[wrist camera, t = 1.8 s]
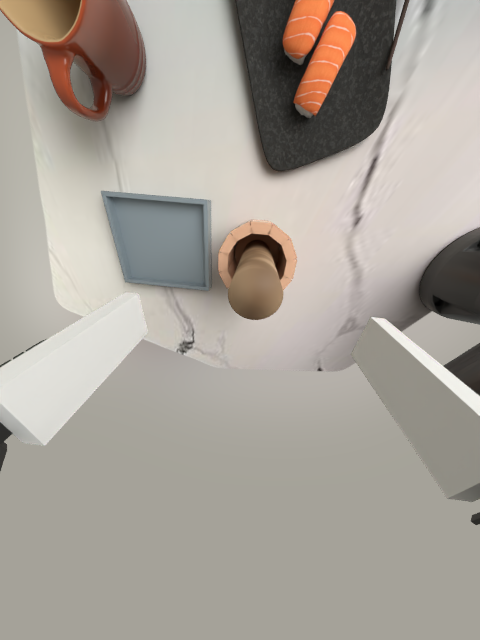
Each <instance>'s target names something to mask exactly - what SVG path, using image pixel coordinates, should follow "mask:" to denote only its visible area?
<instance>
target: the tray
mask: <svg viewBox="0 0 480 640" xmlns="http://www.w3.org/2000/svg"><path fill="white" fill-rule="evenodd" d="M101 194H102V197H103V201H104V205H105V209H106V212H107V216H108V220H109V223H110V227H111V231H112V234H113V238H114V242H115V246H116V249H117V253H118V257H119V260H120V264H121V268H122V272H123V275H124V279H125V282H130V283H139V284H149V285H159V286H168V287H178V288H187V289H197V290H207V291H209V290H210V288H211V287H212V264H211V201H210V200H204V199H192V198H180V197H168V196H156V195H145V194H133V193H121V192H109V191H101Z"/></svg>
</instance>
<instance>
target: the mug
mask: <svg viewBox="0 0 480 640" xmlns="http://www.w3.org/2000/svg"><path fill="white" fill-rule="evenodd" d="M0 10H1V12H2V13H3V14H4V15H5V16H6V18H7V19H8V20H9V21H10V22H11V23H12V24H13V25H14V26H15V27H16V28H17V29H18V30H19V31H20V32H21V33H22V34H23V35H25V36H26V37H28V38H29V39H31V40H33V41H35V42H36V43H38V44H39V45H40V47H41V49H42V52H43V55H44V59H45V61H46V64H47V67H48V70H49V73H50V77H51V80H52V83H53V86H54V88H55V90H56V93H57V94H58V96H59V98H60V99H61V101H62V102H63V104H64V105H65V106H66V107H67V108H68V109H69V110H70V111H72V112H73V113H75V114H76V115H78V116H80V117H82V118H85V119H88V120H91V121H101V120H103V119H105V118H106V116H107V114H108V112H109V108H110V104H111V100H112V92H113V93H115V94H118V95H121V96H130V95H132V94H134V93H135V92H136V91H137V90H138V89H139V87H140V86H141V84H142V82H143V79H144V75H145V69H146V54H145V47H144V43H143V39H142V35H141V32H140V30H139V27H138V25H137V22H136V20H135V17H134V15H133V13H132V11H131V9H130V7H129V5H128V3H127V1H126V0H0ZM73 62H74V63H75V64H76V65H77V66H78V67H79V68H80V69H81V70H83V71H84V72H85V73H86V74H87V75H88V77H89V79H90V81H91V85H92V89H93V94H94V101H93V105H92V106H91V107H90V108H86V107H84V106H83V105H81V104H80V103H79V102H78V100H77V99H76V97H75V95H74V92H73V89H72V86H71V80H70V69H71V66H72V63H73Z"/></svg>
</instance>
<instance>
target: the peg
mask: <svg viewBox="0 0 480 640" xmlns="http://www.w3.org/2000/svg"><path fill="white" fill-rule="evenodd" d="M228 299H229V302H230V305H231V307H232V308H233V310H234V311H235V312H236V313H237V314H239V315H240V316H242V317H244V318H247V319H252V320H259V319H264V318H267V317H269V316H271V315H272V314H274V313H275V312H276V311H277V310H278V308H279V307H280V305H281V303H282V300H283V288H282V285H281V282H280V279H279V276H278V273H277V270H276V267H275V264H274V261H273V258H272V255H271V252H270V249H269V246H268V245H267V244H266V243H265V242H264V241H262V240H253V241H251V242H249V243H248V244H247V245H246V247H245V249H244V251H243V254H242V256H241V259H240V261H239V264H238V266H237V269H236V271H235V274H234V276H233V279H232V281H231V284H230V286H229V290H228Z"/></svg>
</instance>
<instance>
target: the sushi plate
mask: <svg viewBox="0 0 480 640" xmlns="http://www.w3.org/2000/svg"><path fill="white" fill-rule="evenodd" d="M408 3H409V0H405V2H404V5H403V9H402V12H401V16H400V19H399V23H398V26H397V30H396V34H395V37H394V23H395V9H396V0H236V6H237V11H238V17H239V23H240V28H241V34H242V39H243V45H244V50H245V56H246V61H247V67H248V72H249V78H250V83H251V89H252V95H253V100H254V106H255V111H256V116H257V122H258V127H259V132H260V137H261V142H262V146H263V150H264V153H265V156H266V159H267V161H268V163H269V165H270V166H271V167H272V168H273V169H275V170H277V171H285V170H290V169H294V168H297V167H300V166H303V165H306V164H309V163H312V162H314V161H317V160H319V159H322V158H324V157H327V156H330V155H332V154H335V153H337V152H339V151H342V150H344V149H347V148H349V147H351V146H353V145H355V144H357V143H359V142H361V141H362V140H364V139H365V138H367V137H368V136H369V135H371V134H372V133H373V132H374V131H375V130H376V129H377V128H378V126H379V124H380V122H381V120H382V118H383V115H384V112H385V108H386V104H387V99H388V92H389V84H390V74H391V63H392V57H393V54H394V50H395V47H396V44H397V40H398V37H399V33H400V30H401V27H402V23H403V20H404V17H405V13H406V10H407V7H408ZM393 37H394V41H393Z"/></svg>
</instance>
